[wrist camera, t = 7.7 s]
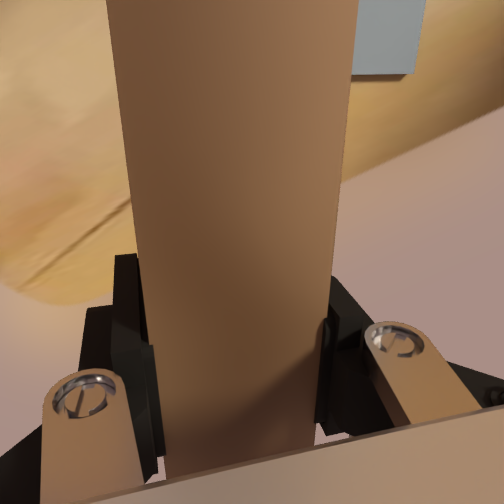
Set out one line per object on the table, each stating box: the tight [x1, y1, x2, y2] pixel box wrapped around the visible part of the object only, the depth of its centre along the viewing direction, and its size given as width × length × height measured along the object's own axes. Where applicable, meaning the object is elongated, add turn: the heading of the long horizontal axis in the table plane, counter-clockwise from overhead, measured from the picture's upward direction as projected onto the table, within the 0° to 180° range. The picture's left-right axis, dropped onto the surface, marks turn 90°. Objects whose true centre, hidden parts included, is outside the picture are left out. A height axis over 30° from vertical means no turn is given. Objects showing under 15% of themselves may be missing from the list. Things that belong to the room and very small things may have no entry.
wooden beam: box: [106, 0, 359, 480], centre depth 11 cm, size 3×22×4 cm, turn 0°
